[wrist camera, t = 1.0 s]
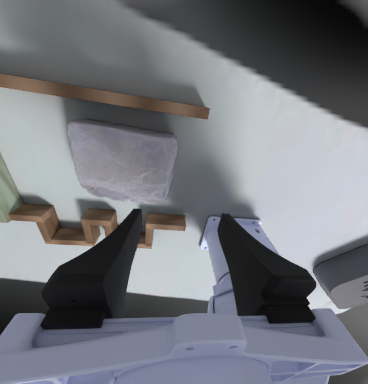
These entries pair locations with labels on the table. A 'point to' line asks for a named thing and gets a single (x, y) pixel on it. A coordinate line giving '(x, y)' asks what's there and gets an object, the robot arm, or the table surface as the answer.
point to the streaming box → (345, 278)
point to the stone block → (122, 160)
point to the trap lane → (48, 221)
